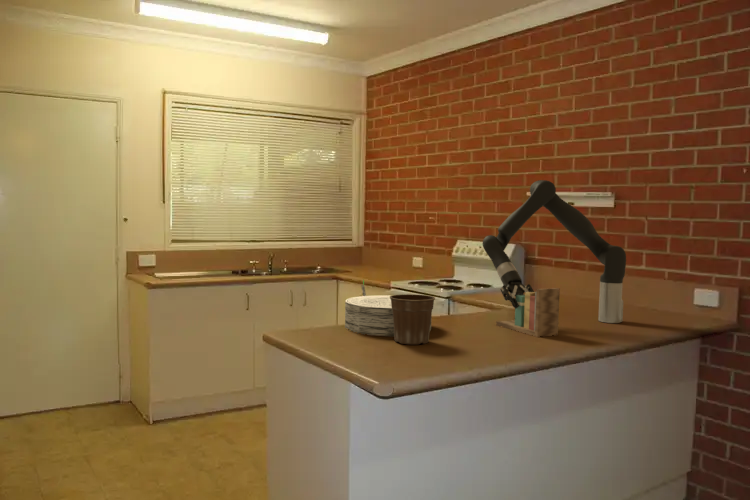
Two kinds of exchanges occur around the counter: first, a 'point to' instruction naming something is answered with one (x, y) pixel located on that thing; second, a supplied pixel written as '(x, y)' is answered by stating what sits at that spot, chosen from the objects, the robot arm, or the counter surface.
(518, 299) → the teal book
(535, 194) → the robot arm
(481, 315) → the counter surface
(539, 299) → the book rack
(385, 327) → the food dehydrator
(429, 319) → the plant pot
